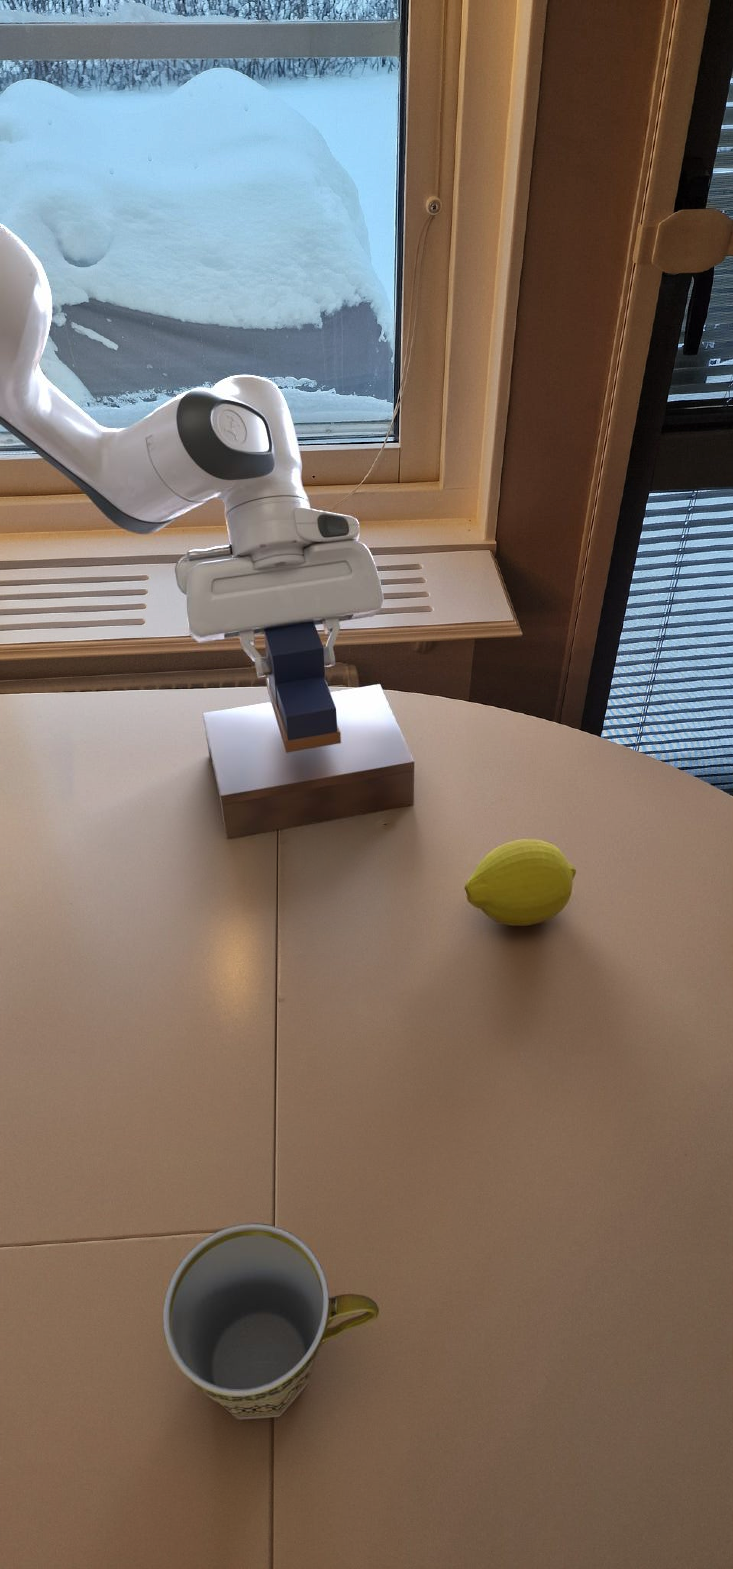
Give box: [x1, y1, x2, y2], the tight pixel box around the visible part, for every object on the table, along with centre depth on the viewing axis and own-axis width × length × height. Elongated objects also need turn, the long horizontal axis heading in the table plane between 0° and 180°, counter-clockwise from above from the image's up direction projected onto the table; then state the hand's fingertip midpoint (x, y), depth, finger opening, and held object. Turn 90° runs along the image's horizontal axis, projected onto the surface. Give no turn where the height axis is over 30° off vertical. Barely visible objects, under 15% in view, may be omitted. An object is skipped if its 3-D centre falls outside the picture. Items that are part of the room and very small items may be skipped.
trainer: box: [263, 621, 341, 753], centre depth 105 cm, size 11×6×8 cm, turn 14°
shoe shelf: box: [202, 683, 415, 840], centre depth 111 cm, size 20×14×6 cm
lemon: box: [463, 838, 577, 927], centre depth 96 cm, size 11×8×8 cm
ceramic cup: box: [162, 1222, 380, 1420], centre depth 66 cm, size 13×10×10 cm
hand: (297, 670), depth 106 cm, fingers closed on trainer, 5 cm apart
